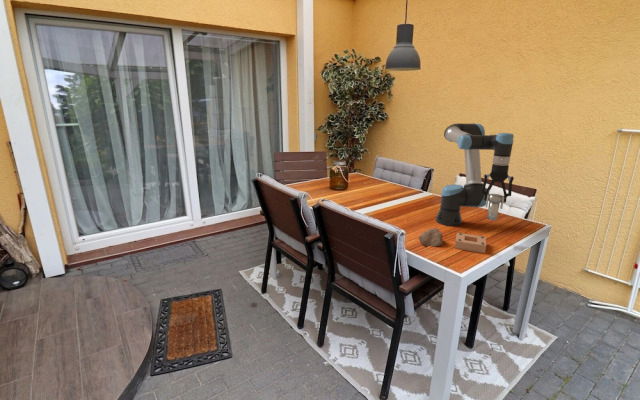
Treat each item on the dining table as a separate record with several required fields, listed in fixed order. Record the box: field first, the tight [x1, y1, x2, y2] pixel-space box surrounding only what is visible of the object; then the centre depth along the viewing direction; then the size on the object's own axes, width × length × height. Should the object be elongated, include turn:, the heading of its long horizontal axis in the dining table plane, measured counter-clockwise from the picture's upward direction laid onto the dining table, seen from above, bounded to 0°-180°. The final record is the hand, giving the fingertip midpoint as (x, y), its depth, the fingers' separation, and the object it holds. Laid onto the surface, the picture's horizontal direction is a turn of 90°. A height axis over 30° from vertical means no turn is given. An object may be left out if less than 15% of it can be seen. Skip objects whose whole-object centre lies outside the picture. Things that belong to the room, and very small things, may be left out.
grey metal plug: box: [486, 193, 504, 221], centre depth 174 cm, size 6×6×13 cm
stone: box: [418, 227, 444, 247], centre depth 175 cm, size 12×9×10 cm
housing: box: [454, 232, 487, 254], centre depth 170 cm, size 14×12×6 cm
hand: (493, 207), depth 174 cm, fingers closed on grey metal plug, 6 cm apart
